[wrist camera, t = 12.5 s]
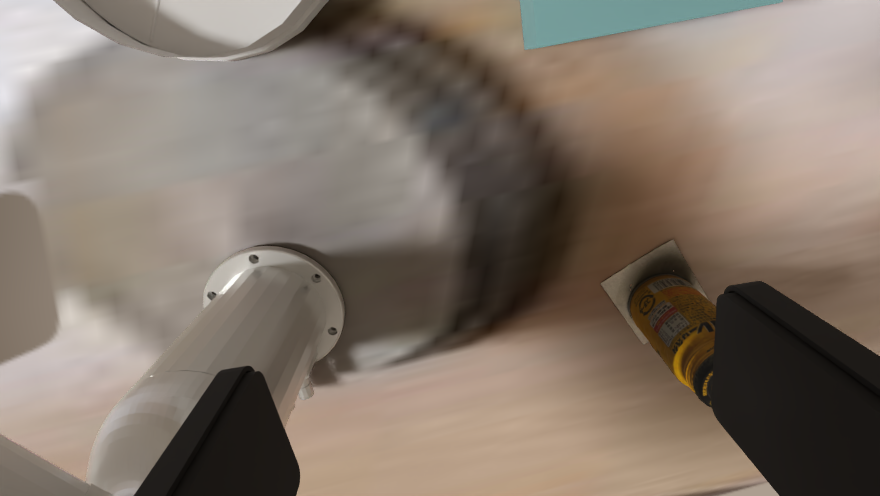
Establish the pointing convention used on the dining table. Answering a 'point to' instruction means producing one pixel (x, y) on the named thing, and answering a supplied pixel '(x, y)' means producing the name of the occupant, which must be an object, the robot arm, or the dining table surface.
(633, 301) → the condiment
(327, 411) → the dining table surface
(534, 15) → the dock
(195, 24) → the dish
